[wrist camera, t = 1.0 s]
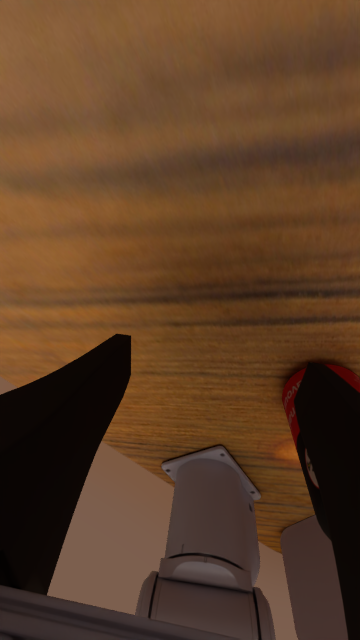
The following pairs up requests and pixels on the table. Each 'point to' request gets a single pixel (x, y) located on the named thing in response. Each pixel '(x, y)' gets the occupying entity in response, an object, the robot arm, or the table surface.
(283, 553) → the electronic device
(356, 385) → the beverage can
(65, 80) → the table surface
